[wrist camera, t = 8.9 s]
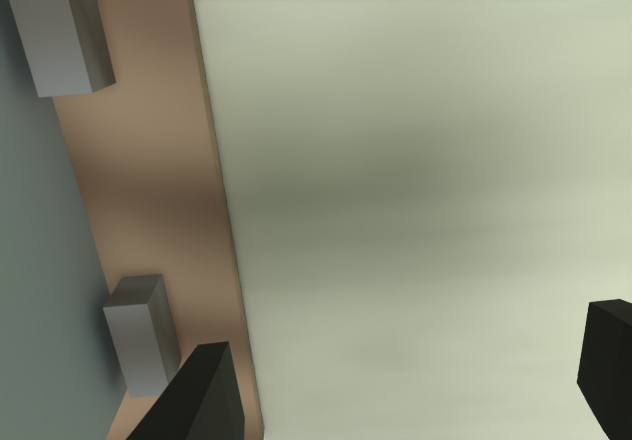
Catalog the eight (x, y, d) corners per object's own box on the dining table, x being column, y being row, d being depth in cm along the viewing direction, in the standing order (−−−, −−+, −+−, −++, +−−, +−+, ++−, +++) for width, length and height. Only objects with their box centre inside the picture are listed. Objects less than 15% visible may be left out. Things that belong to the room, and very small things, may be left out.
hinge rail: (263, 431, 23) (252, 595, 17) (10, 455, 23) (-100, 630, 16) (142, -310, 12) (-17, -649, 6) (-329, -274, 12) (-1000, -579, 6)
